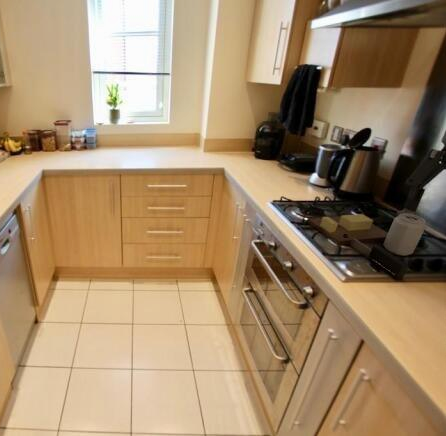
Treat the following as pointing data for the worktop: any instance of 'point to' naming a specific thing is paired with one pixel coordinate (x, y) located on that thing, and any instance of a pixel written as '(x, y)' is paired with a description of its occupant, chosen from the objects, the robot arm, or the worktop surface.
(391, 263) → the knife
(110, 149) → the worktop surface
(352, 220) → the butter
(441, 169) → the robot arm
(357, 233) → the board
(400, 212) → the salt shaker
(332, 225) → the butter slice
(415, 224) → the can
